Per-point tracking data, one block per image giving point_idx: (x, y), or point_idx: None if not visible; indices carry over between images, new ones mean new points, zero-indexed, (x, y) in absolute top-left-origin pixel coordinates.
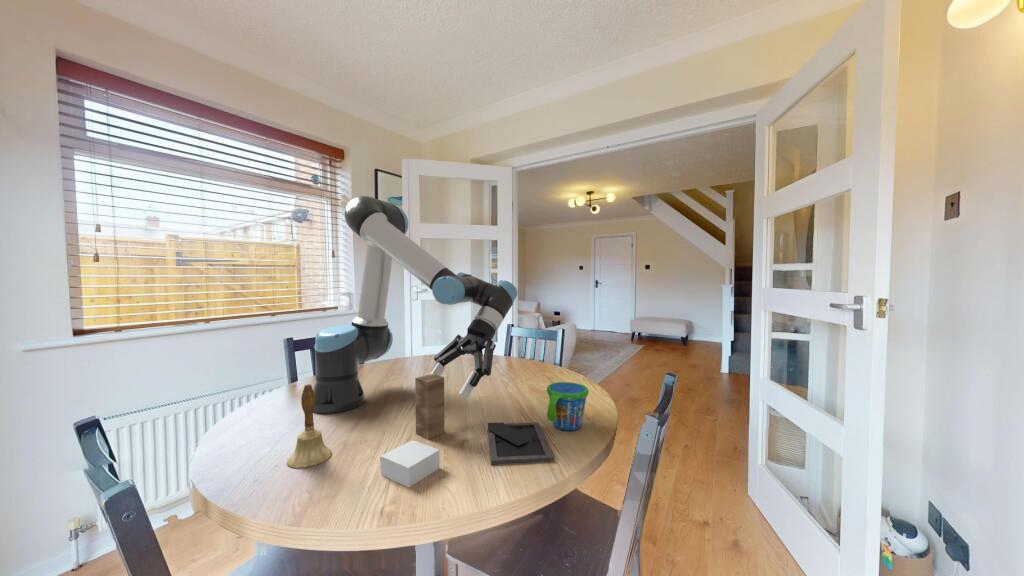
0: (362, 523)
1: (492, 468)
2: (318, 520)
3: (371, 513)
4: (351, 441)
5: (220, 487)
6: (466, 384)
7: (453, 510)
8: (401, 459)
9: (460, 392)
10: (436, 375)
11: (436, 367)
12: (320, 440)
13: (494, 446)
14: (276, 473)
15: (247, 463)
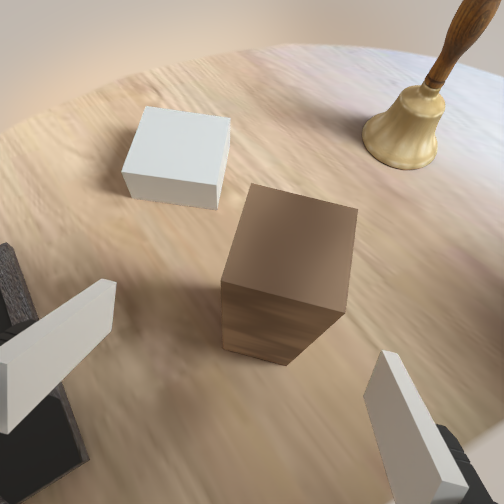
0: (164, 71)
1: (5, 237)
2: (224, 61)
3: (167, 84)
4: (402, 210)
5: (413, 63)
6: (67, 303)
7: (46, 119)
8: (179, 120)
9: (105, 283)
10: (291, 294)
11: (422, 438)
12: (397, 117)
13: (12, 310)
14: (390, 99)
15: (463, 102)
